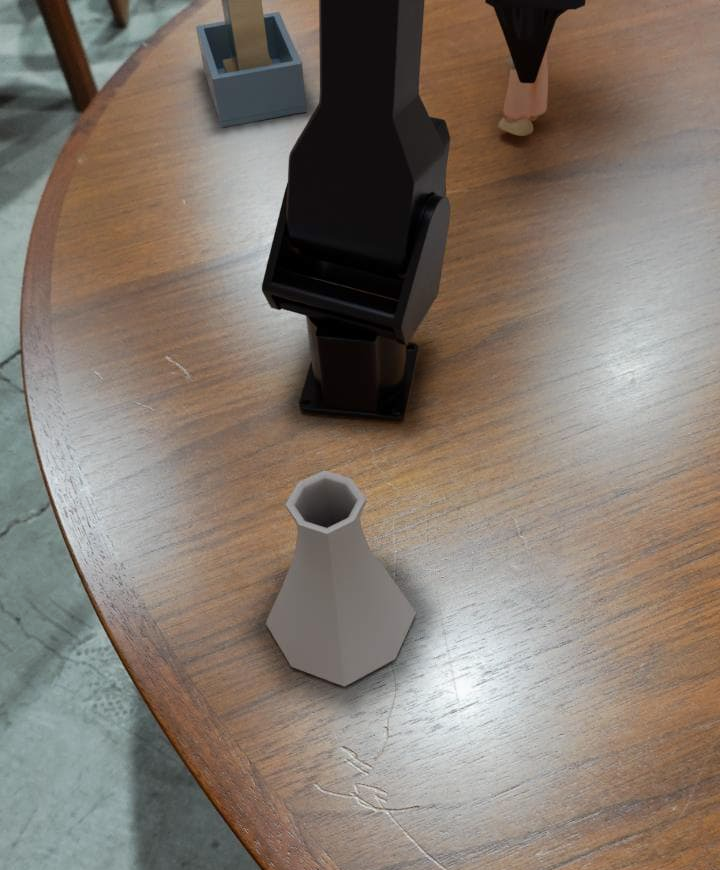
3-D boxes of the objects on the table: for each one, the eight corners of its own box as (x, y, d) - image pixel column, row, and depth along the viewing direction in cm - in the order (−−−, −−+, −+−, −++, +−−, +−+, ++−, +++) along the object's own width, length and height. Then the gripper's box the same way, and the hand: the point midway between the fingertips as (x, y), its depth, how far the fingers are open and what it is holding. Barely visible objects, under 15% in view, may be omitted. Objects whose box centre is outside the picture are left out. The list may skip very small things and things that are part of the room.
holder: (306, 112, 74) (302, 63, 71) (221, 127, 73) (212, 79, 70) (284, 59, 79) (279, 11, 76) (204, 73, 78) (195, 25, 75)
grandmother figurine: (543, 144, 68) (574, -47, 58) (493, 140, 68) (514, -50, 58) (545, 98, 73) (573, -86, 63) (498, 95, 73) (518, -88, 63)
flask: (441, 613, 46) (447, 491, 37) (345, 713, 43) (329, 604, 34) (337, 539, 49) (321, 411, 40) (241, 628, 46) (204, 509, 37)
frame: (283, 100, 74) (263, -63, 64) (236, 108, 74) (209, -54, 64) (269, 65, 78) (248, -95, 68) (224, 73, 77) (197, -86, 67)
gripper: (703, -153, 48) (642, 128, 60) (690, -257, 58) (641, 0, 71) (494, -154, 49) (477, 120, 62) (518, -255, 60) (499, -4, 72)
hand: (531, 54), depth 67 cm, fingers closed on grandmother figurine, 8 cm apart
